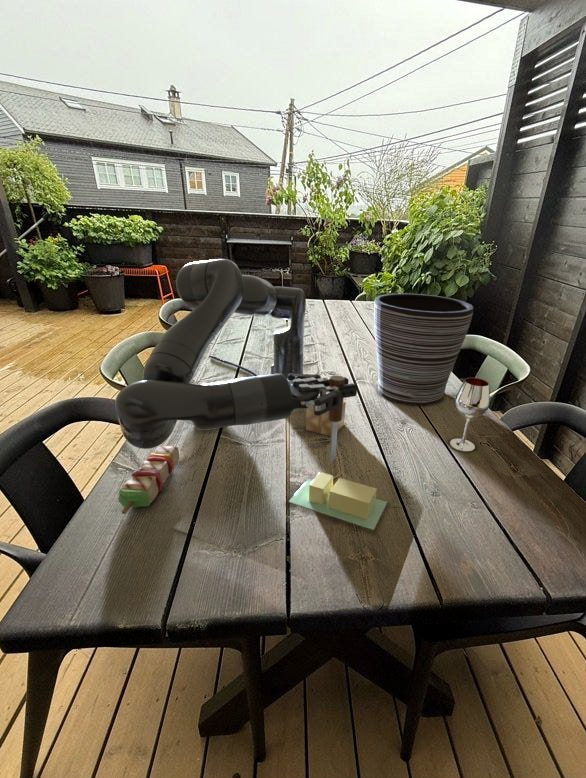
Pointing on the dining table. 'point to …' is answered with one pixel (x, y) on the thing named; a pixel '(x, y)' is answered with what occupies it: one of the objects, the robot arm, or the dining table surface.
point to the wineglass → (471, 407)
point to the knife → (335, 417)
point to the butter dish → (324, 508)
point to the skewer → (149, 478)
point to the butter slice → (320, 488)
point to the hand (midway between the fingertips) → (351, 386)
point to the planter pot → (418, 344)
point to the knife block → (321, 422)
